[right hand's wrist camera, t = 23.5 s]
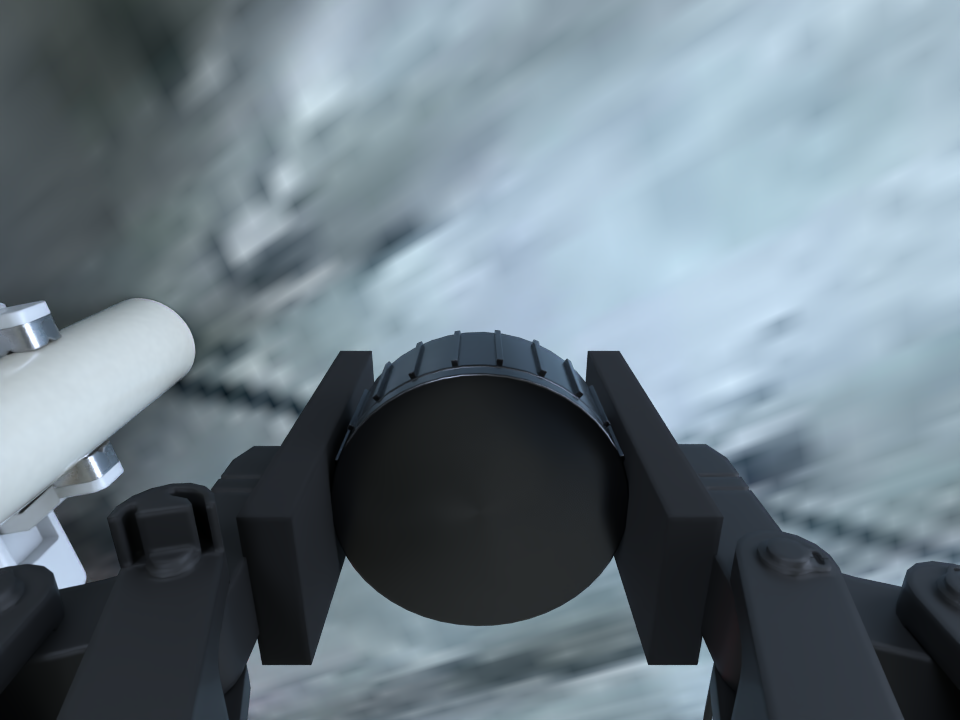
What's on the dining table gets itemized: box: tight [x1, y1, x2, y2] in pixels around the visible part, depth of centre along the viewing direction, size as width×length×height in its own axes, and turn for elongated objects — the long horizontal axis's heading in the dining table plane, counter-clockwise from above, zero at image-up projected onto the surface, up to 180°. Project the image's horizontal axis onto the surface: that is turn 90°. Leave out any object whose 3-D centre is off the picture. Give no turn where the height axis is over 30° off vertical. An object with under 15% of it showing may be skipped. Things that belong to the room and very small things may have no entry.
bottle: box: [0, 298, 195, 526], centre depth 22 cm, size 5×5×16 cm
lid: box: [331, 330, 629, 626], centre depth 11 cm, size 5×5×2 cm
